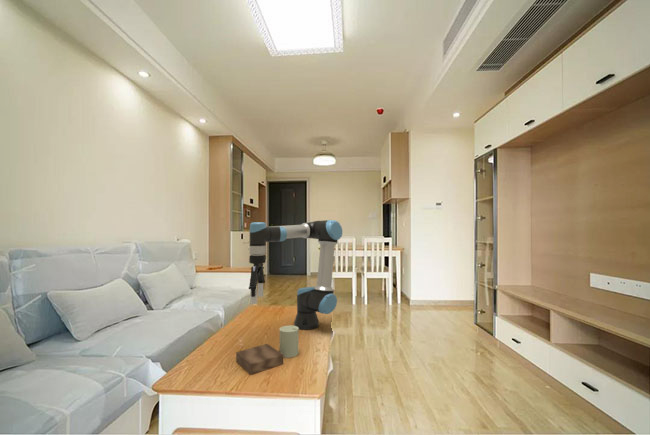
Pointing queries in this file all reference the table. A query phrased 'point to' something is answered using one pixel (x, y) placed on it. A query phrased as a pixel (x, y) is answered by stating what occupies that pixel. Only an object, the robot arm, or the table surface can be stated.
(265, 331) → the table surface
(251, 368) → the brown flat square block
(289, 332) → the can
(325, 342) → the table surface
